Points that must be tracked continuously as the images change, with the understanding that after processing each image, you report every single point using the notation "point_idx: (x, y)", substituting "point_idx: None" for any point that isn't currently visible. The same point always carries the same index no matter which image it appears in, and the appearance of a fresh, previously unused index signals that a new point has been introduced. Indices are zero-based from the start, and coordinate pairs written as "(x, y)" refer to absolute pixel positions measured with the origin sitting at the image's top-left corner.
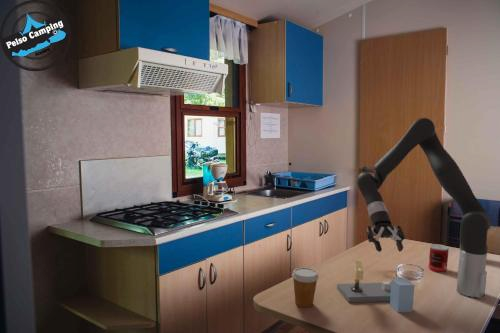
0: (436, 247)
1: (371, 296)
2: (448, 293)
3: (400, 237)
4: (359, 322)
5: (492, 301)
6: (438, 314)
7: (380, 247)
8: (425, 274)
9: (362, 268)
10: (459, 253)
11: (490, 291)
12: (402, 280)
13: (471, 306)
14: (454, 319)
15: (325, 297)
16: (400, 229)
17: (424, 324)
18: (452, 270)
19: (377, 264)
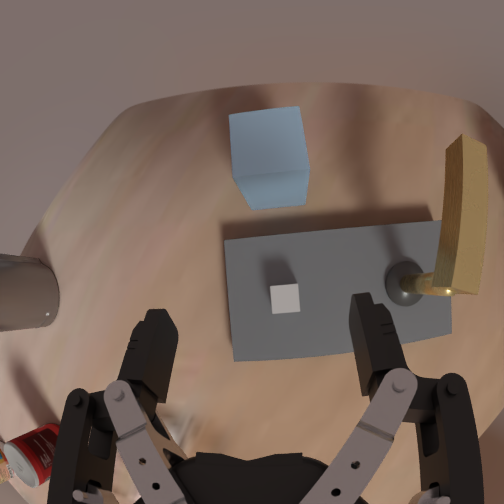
0: (25, 468)
1: (367, 226)
2: (81, 296)
3: (101, 416)
4: (417, 112)
5: (26, 246)
6: (176, 155)
7: (365, 305)
8: None
9: (463, 172)
10: (15, 473)
11: None
12: (262, 152)
13: (72, 214)
14: (152, 134)
15: (485, 258)
16: (58, 481)
17: (247, 100)
18: (36, 426)
19: None
